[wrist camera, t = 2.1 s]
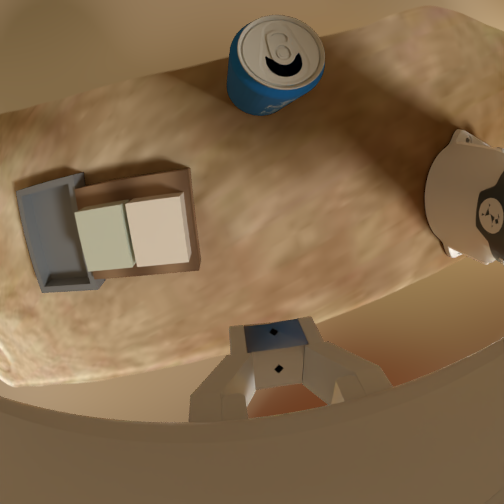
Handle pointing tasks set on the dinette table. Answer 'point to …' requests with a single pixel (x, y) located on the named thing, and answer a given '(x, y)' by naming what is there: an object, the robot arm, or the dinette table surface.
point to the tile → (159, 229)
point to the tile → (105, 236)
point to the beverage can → (273, 64)
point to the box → (55, 235)
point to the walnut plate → (138, 189)
